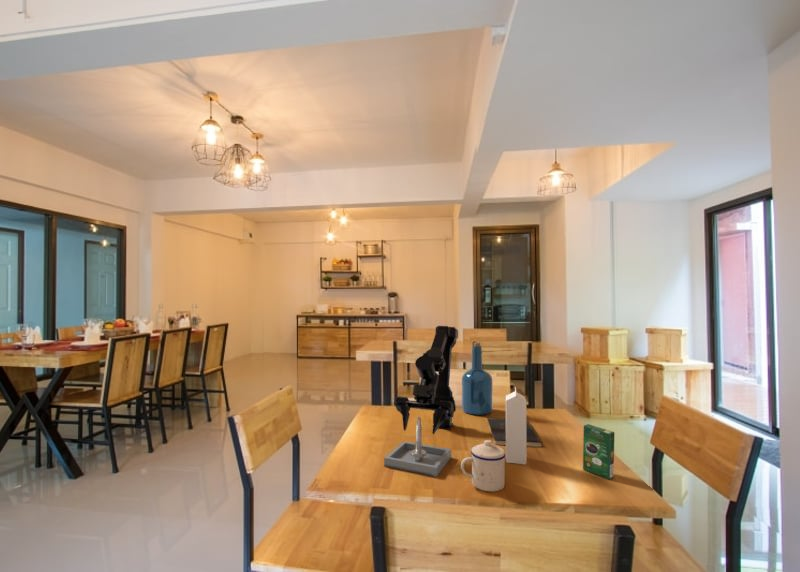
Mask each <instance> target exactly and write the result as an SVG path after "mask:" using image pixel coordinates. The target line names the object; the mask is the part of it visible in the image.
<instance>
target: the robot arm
mask: <svg viewBox="0 0 800 572" xmlns="http://www.w3.org/2000/svg"><path fill="white" fill-rule="evenodd" d="M434 333H435V335H434V338H433V341H432V342H431V343H432V344H431V346H430V349H428V350H427V351H426V352H423V353H422V355H421V356H419V357H418V358H417V359H416V360H415V362H414V363H415V368H416V370H417V374H418V377H420V378H421V379H420V381H419V384H415V383H414V384H413V388H412V389H413V390H412V395H413V396H414V397H413V400H415V401H410V400H409V397H408V396H396V397H395V399H394V402H393V404H394V407H395V409H396V411H397V412H399V413H400V414H401V416H402V425H403V431H406V430H407V428H408V424H409V423H408V422H409V419H410V415H411V414H410V411H411V409H419V410H426V411H434V412H433V413H432V424H433V425H432V434H433V435H435V434H436V432H437V431H438V430H439V429H445V430H450V429H451V427H453V425H454V422H453V418H454V413H455V412H456V411H457V410H456V409H457V407H456V401H455V398H454V396H453V391H452V389H451V387H450V377H451V364H452V363H451V362H452V351H453V348H454V347H455V345H456V344H457V340H458V338H459V329H457V328H456V326H448V325H437V326H436V327H435V332H434Z"/></svg>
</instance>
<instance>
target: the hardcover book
mask: <svg viewBox="0 0 800 572" xmlns="http://www.w3.org/2000/svg"><path fill="white" fill-rule="evenodd" d="M486 419H487V422H488V426H489V429H490V432H491V436H492V438H493V442H494V445H496V446H499V445H500V446H501V445H502V446H506V418H496V417H495V418H494V417H488V418H486ZM526 447H539V448H541V447H542V448H543V442H542V441H541V439H540V437H539V436H538V434H537V432H535V430H534V428H533V426H532V424H531V423H530V422H529V420H528V419H526Z"/></svg>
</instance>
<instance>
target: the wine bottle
mask: <svg viewBox="0 0 800 572" xmlns="http://www.w3.org/2000/svg"><path fill="white" fill-rule="evenodd" d="M471 353H472V357H471V358H472V360H471V368H470V369H469V370H466V371H465V372H464V374H462V377H461V410H462V411H463V412H464V413H467V414H469V415H473V416H474V415H475V416H486V415H489V414H491V413H492V411H493V403H494V402H493V394H494V393H493V377H492V375H491V374H490V373H489V372H488V371H486V370H484V369H483V357H482V356H483V355H482V354H483V349H482V345H481V343H480V342H473V346H472V350H471Z"/></svg>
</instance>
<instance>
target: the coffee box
mask: <svg viewBox="0 0 800 572" xmlns="http://www.w3.org/2000/svg"><path fill="white" fill-rule="evenodd" d="M615 435H616V434H615V432H614V431H612V430H608V429H606V428H601V427H599V426H596V425H592V424H590V423H586V424H584V425H583V443H582V444H583V445H582V446H583V447H582V448H583V449H582V452H583V453H582V460H583V461H582V470H584V471H586V472H589V473H592V474H594V475H596V476H599V477H601V478H602V479H603V478H604V479H607V480H609V481H611V479H614V475H615V471H614V470H615V467H614V466H615Z"/></svg>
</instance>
